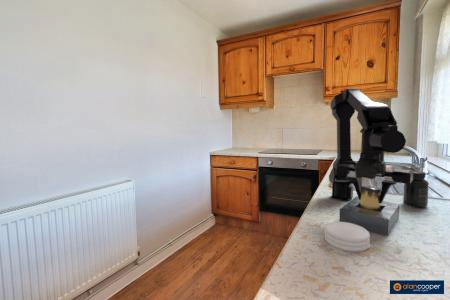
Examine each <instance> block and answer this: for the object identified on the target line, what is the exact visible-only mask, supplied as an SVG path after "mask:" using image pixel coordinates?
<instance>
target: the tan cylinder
mask: <svg viewBox="0 0 450 300" xmlns="http://www.w3.org/2000/svg"><path fill="white" fill-rule="evenodd" d="M381 189H382V188H380V187H378V186H371V185H362V187H361V199H360V208H363V209H368V210H373V211H378V212H380V194H381Z"/></svg>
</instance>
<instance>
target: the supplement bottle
mask: <svg viewBox="0 0 450 300" xmlns="http://www.w3.org/2000/svg"><path fill="white" fill-rule="evenodd" d="M411 171H412V172H413V180H412V182H411V183H410V184H406V183H403V193H402V194H403V197H402V203H403V205H405V206H407V207H411V208H416V209H417V208H418V209H423V208H424V209H425V208H427V207H428V203H429V187H430V186H429V185H430V184H429V182H428V180H426V172H425V171H421V170H420V171H419V170H411Z"/></svg>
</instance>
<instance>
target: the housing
mask: <svg viewBox="0 0 450 300" xmlns="http://www.w3.org/2000/svg"><path fill="white" fill-rule="evenodd" d="M400 205H401V204H400V203H396V202H389V201H384V200H383V202H382V203H380V212H378V211H373V210H368V209H363V208H360V200H359V198H358V196H355V197H353V199H352V198H351V199H350V201H347V203H345V204H344V205H343V206H342V207H340V209H339V220H338V222H347V223H352V224H356V225H359V226H361V227H363V228H365V229H366V230H367V231H368V232H369V233H374V234H378V235H382V236H386V237H389V235H390V234H391V232H392V230H393V229H394V227H395V226H396V224H397V222H398V220H399V219H400Z"/></svg>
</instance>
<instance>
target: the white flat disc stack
mask: <svg viewBox="0 0 450 300" xmlns="http://www.w3.org/2000/svg"><path fill="white" fill-rule="evenodd" d="M370 236H371V235H370V232H369V231H367V230H366V229H365V228H363V227H361V226H359V225H356V224H352V223H347V222H339V221H332V222H329V223H327V224H326V225H325V226H324V240H325V242H326V243H328V245H330V246H332V247H333V248H336V249H338V250H342V251H345V252H353V253H357V252H359V253H360V252H365V251H367V250H368V249H369V248H370V241H371V240H370Z"/></svg>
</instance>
